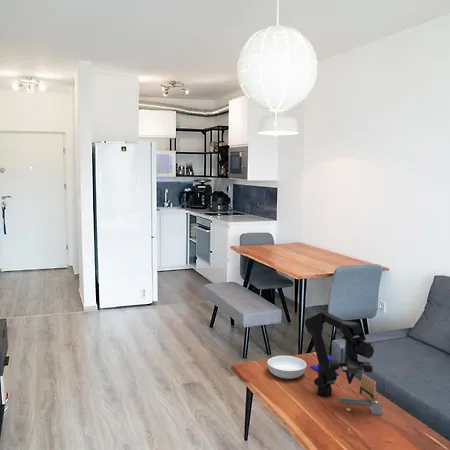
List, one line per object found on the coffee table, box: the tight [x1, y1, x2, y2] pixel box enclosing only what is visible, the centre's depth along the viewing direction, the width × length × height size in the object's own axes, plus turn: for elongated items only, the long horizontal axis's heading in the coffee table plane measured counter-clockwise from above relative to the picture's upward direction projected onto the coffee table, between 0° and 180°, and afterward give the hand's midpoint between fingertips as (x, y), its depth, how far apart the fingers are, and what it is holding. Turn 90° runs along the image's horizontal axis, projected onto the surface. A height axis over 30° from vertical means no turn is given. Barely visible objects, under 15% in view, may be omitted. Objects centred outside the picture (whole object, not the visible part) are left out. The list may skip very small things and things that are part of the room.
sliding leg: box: [369, 398, 383, 416], centre depth 213 cm, size 4×8×5 cm, turn 173°
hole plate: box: [339, 396, 371, 412], centre depth 212 cm, size 18×13×3 cm
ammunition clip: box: [359, 372, 377, 400], centre depth 224 cm, size 11×2×12 cm, turn 20°
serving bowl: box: [267, 355, 307, 380], centre depth 251 cm, size 21×21×7 cm
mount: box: [309, 354, 340, 377], centre depth 256 cm, size 15×8×9 cm, turn 30°
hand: (349, 383), depth 213 cm, fingers closed
